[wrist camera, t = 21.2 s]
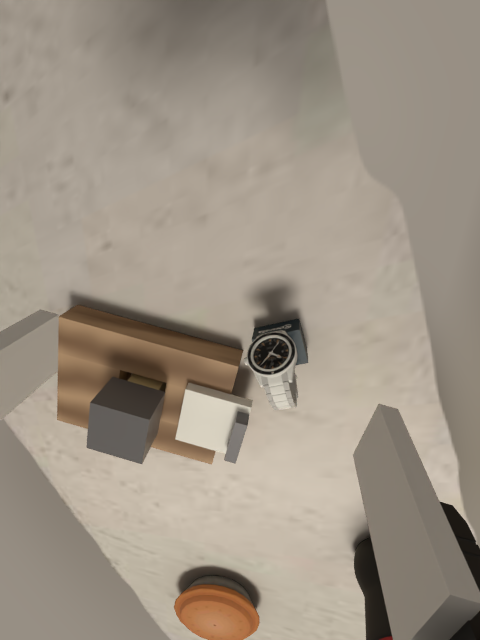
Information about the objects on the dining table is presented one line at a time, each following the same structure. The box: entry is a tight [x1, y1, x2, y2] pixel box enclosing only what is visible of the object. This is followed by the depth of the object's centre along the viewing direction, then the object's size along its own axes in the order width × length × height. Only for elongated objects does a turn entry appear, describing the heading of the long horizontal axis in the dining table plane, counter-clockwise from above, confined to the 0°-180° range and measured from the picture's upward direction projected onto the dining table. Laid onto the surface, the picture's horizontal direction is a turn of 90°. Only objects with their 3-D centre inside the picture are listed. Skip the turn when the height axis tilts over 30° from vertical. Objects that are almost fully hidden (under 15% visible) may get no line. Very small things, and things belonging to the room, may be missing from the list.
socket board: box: [57, 305, 243, 464], centre depth 45 cm, size 16×22×4 cm
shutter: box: [175, 383, 253, 463], centre depth 42 cm, size 8×8×3 cm
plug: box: [87, 374, 166, 464], centre depth 42 cm, size 6×6×11 cm
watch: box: [244, 319, 308, 410], centre depth 37 cm, size 6×8×11 cm
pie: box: [174, 576, 259, 640], centre depth 63 cm, size 16×16×5 cm
